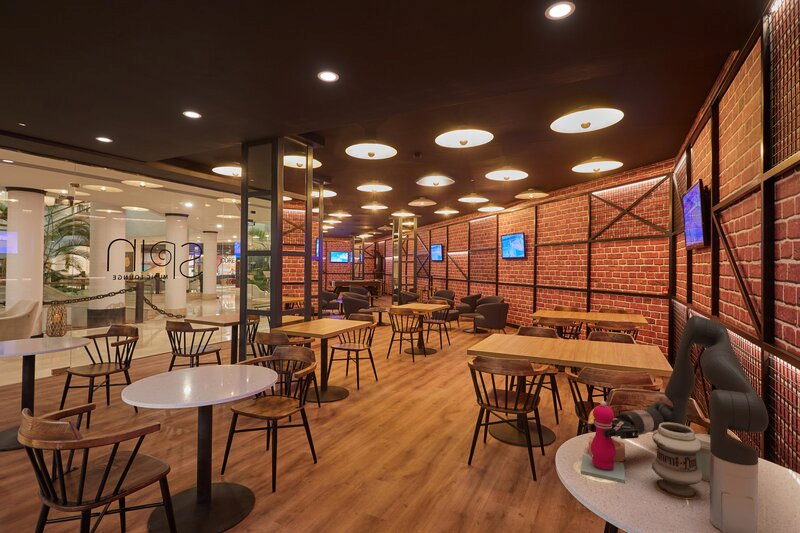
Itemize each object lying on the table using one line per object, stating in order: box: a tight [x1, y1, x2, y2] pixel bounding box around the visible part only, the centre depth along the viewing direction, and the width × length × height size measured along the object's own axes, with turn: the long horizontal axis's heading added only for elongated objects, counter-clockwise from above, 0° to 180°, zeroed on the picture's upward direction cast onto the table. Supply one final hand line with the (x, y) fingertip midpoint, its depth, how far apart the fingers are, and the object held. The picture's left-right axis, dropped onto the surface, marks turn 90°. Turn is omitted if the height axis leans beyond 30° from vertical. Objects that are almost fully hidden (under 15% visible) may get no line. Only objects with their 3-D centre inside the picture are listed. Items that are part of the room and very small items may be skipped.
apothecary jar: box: [651, 423, 703, 500], centre depth 119 cm, size 12×12×18 cm
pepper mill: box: [591, 400, 616, 469], centre depth 130 cm, size 7×7×20 cm
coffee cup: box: [694, 433, 710, 483], centre depth 126 cm, size 9×8×12 cm
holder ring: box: [587, 435, 626, 462], centre depth 141 cm, size 11×11×4 cm
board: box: [580, 454, 626, 484], centre depth 130 cm, size 12×12×1 cm
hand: (597, 430), depth 129 cm, fingers closed on pepper mill, 4 cm apart
